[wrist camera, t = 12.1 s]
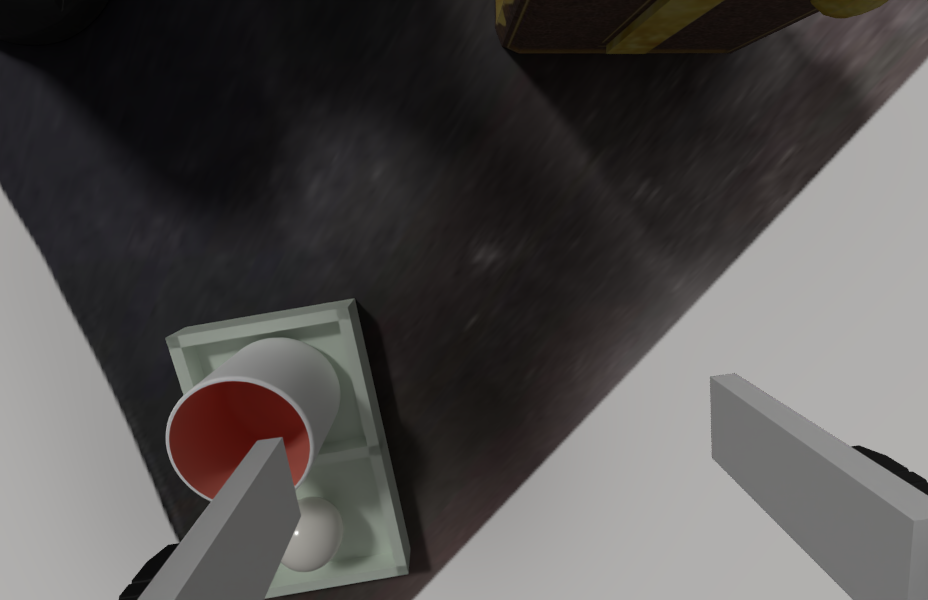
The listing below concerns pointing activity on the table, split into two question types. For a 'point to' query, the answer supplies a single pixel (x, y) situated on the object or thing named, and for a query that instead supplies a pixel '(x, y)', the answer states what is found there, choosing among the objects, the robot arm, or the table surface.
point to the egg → (314, 535)
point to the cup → (253, 412)
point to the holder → (345, 447)
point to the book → (653, 23)
